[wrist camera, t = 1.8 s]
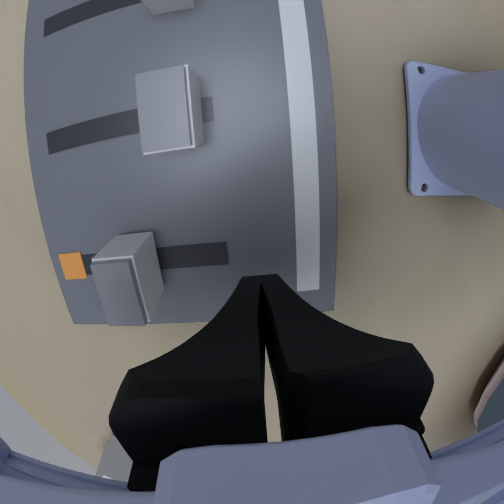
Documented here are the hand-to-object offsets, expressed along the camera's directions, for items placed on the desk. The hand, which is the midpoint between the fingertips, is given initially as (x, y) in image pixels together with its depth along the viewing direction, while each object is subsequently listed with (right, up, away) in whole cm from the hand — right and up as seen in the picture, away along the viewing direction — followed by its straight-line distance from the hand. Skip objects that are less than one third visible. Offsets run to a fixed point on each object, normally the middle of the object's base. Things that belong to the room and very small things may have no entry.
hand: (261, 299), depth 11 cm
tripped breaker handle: (-6, +1, +4) cm, 7 cm away
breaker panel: (-5, +9, +4) cm, 10 cm away
